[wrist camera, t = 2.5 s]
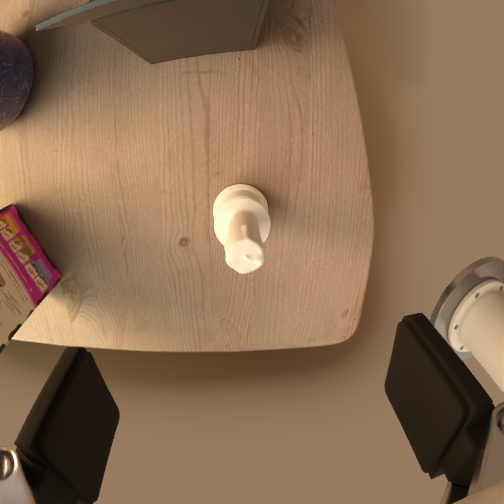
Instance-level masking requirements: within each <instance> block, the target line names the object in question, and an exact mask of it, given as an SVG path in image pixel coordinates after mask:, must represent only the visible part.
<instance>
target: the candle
mask: <svg viewBox="0 0 504 504" xmlns="http://www.w3.org/2000/svg"><path fill="white" fill-rule="evenodd" d="M213 215H214V219H215V221H214V229H215V233H216V236H217V238H218V239H219V241H220V242H221V243H222V244H223V245H224V246H225V247H224V250H225V252H226V262H227V264H228V265H229V266H230V267H232V268H233V269H235V270H236V271H238V272H239V273H241V274H246V273H249V272H252V271H254V270H256V269H258V268H259V267H261V266H262V265H263V264H264V262H265V255H264V253H265V249H264V246H263V242H264V241H265V240H266V238H267V237H268V235H269V232H270V225H271V224H270V217H269V215H268V204H267V201H266V199H265V197H264V195H263V194H262V193H261V192H260V191H259V190H258V189H256V188H254V187H252V186H250V185H246V184H236V185H232V186H229V187H227V188H226V189H224V190H223V191H222V192H221V193H220V194H219V195H218V197H217V198H216V200H215V203H214V207H213Z"/></svg>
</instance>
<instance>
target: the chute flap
mask: <svg viewBox="0 0 504 504" xmlns="http://www.w3.org/2000/svg"><path fill="white" fill-rule="evenodd" d="M161 1H166V0H95V1H92V2H89V3H87V4H84V5H81V6H78V7H76V8H73V9H71V10H68V11H66V12H63V13H61V14H59V15H56V16H54V17H52V18H50V19H47V20H45V21H43V22H41V23H39V24H37V25H36V31H40V30H45V29H50V28H55V27H60V26H66V25H72V24H79V23H86V22H89V21H92V20H95V19H98V18H101V17H104V16H107V15H110V14H114V13H117V12H120V11H124V10H128V9H131V8H135V7H139V6H143V5H147V4H152V3H156V2H161Z"/></svg>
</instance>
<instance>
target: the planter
mask: <svg viewBox="0 0 504 504" xmlns="http://www.w3.org/2000/svg"><path fill="white" fill-rule="evenodd" d="M32 81H33V60H32V56H31V54H30V52H29V50H28V48H27V46H26V45H25V44H24V43H23V42H22V41H21V40H19V39H18V38H16V37H15V36H13V35H11V34H9V33H7V32H4V31H2V30H0V131H2V130H3V129H5V128H6V127H7V126H9V125H10V124H11V123H12V122H13V121H14V120H15V119H16V117H17V116H18V115H19V113H20V112H21V110H22V109H23V107H24V105H25V103H26V101H27V99H28V96H29V93H30V90H31V86H32Z"/></svg>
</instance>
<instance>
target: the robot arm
mask: <svg viewBox="0 0 504 504" xmlns="http://www.w3.org/2000/svg"><path fill="white" fill-rule="evenodd" d="M448 339H449V342H450V344H451V345H452V347H453V348H454V349H455V350H457V351H459V352H469V351H470V352H471V353H472V354H473V356H474V357H475V358H476V359H477V360H478V362H479V363H480V364H481V365H482V366H483V368H484V369H485V370H486V371H487V372H488V374H489V375H490V376H491V377H492V379H493V380H494V381H495V382H496V384H497V385H498V386H499V388H500V389H501V390H502V391H503V393H504V284H503V283H502V282H501V281H499V280H497V279H490V280H486V281H484V282H482V283H480V284H478V285H477V286H475V287H474V288H473V289H472V290H471V291H470V292H469V293H468V294H467V295H466V296H465V297H464V298H463V299H462V301H461V302H460V304H459V305H458V307H457V308H456V310H455V312H454V314H453V316H452V319H451V322H450V325H449V330H448ZM385 392H386V395H387V397H388V399H389V401H390V403H391V405H392V407H393V409H394V411H395V413H396V415H397V417H398V419H399V421H400V423H401V425H402V427H403V429H404V432H405V434H406V436H407V438H408V440H409V442H410V445H411V447H412V449H413V451H414V453H415V455H416V458H417V460H418V462H419V464H420V466H421V469H422V470H423V471H424V472H425V473H429V476H430V478H431V479H433V478H435V477H438V476H440V475H442V474H445V475H446V478H447V479H448V483H447V486H446V488H445V491H444V495H443V497H442V500H441V502H440V504H504V402H502V403H500V404H499V405H497V406H496V408H495V406H494V405H493V403H492V402H493V401H492V399H491V398H490V397H489V395H488V394H487V393H486V391H485V390H484V388H483V387H482V386H481V384H480V383H479V382H478V381H477V379H476V378H475V377H474V375H473V374H472V373H471V371H470V370H469V369H468V368H467V366H466V365H465V364H464V362H463V361H462V360H461V359H460V357H459V356H458V355H457V354H456V352H455V351H454V350H453V349H452V348H451V346H450V345H449V344H448V343H447V341H446V340H445V339H444V338H443V337H442V335H441V334H440V333H439V332H438V331H437V329H436V328H435V327H434V326H433V325H432V323H431V322H430V321H429V320H428V319H427V318H426V316H425V315H424V314H422V313H417V314H412V315H408V316H404V317H403V319H402V322H399V323H398V326H397V331H396V336H395V341H394V346H393V350H392V355H391V359H390V364H389V368H388V372H387V376H386V380H385ZM119 415H120V414H119V409H118V407H117V405H116V403H115V401H114V399H113V397H112V396H111V394H110V392H109V390H108V388H107V386H106V384H105V382H104V380H103V378H102V376H101V373H100V371H99V369H98V367H97V365H96V363H95V361H94V359H93V356H92V355H91V353H90V352H87V350H86V349H85V348H83V347H67V348H66V349H65V350H64V352H63V354H62V356H61V357H60V359H59V361H58V362H57V364H56V366H55V367H54V369H53V371H52V372H51V374H50V376H49V378H48V380H47V381H46V383H45V385H44V387H43V388H42V390H41V392H40V394H39V396H38V398H37V399H36V401H35V403H34V405H33V407H32V409H31V411H30V413H29V415H28V416H27V419H26V420H25V423H24V425H23V427H22V429H21V430H20V433H19V434H18V437H17V439H16V441H15V443H14V444H15V445H16V446H17V449H16V451H14V450H13V449H12V448H10V447H8V446H0V504H93V502H95V501H97V499H98V497H99V492H100V488H101V484H102V480H103V476H104V472H105V468H106V465H107V460H108V457H109V453H110V449H111V446H112V442H113V439H114V435H115V432H116V428H117V425H118V421H119V417H120V416H119Z"/></svg>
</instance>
